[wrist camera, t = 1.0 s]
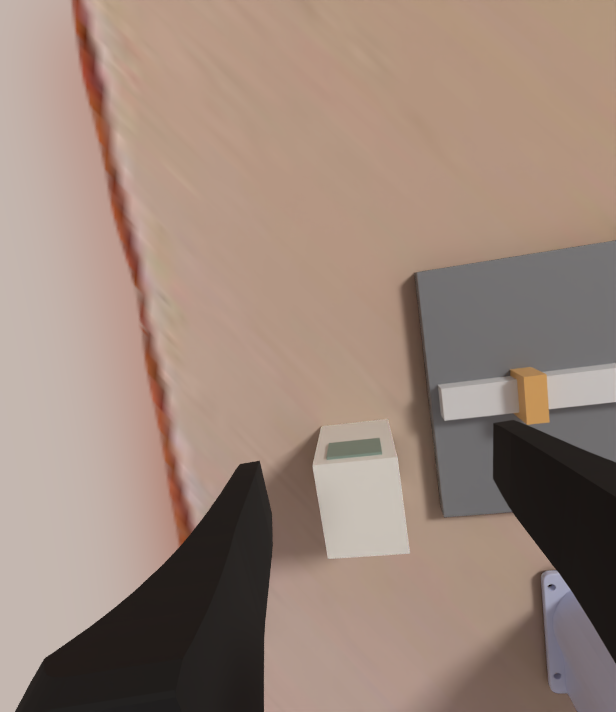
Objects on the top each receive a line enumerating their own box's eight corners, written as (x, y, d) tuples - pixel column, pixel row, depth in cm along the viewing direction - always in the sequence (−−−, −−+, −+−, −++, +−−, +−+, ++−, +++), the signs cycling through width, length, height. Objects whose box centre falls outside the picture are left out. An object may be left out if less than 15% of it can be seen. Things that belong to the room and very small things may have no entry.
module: (398, 495, 28) (409, 553, 22) (333, 501, 28) (327, 558, 22) (387, 416, 27) (397, 454, 21) (320, 424, 27) (312, 462, 21)
